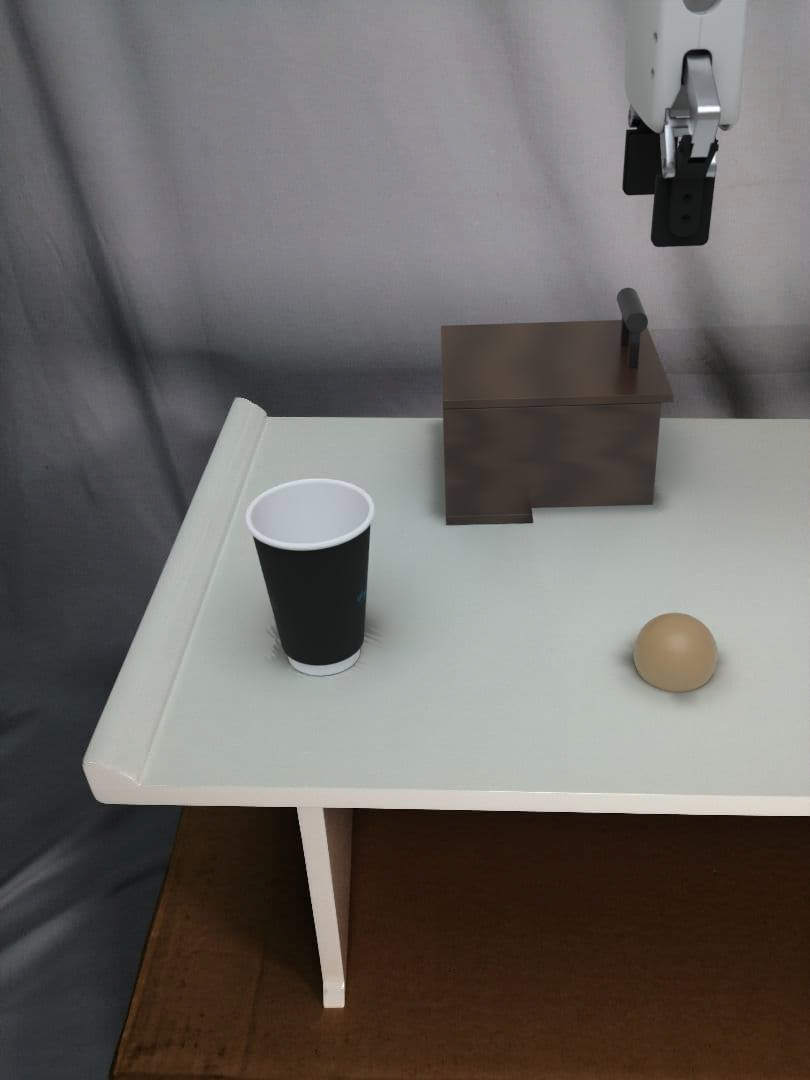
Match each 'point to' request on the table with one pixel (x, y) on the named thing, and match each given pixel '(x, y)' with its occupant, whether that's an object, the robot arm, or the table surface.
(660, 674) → the tan ball
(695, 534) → the table surface
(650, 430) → the box
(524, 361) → the box lid
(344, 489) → the dixie cup
